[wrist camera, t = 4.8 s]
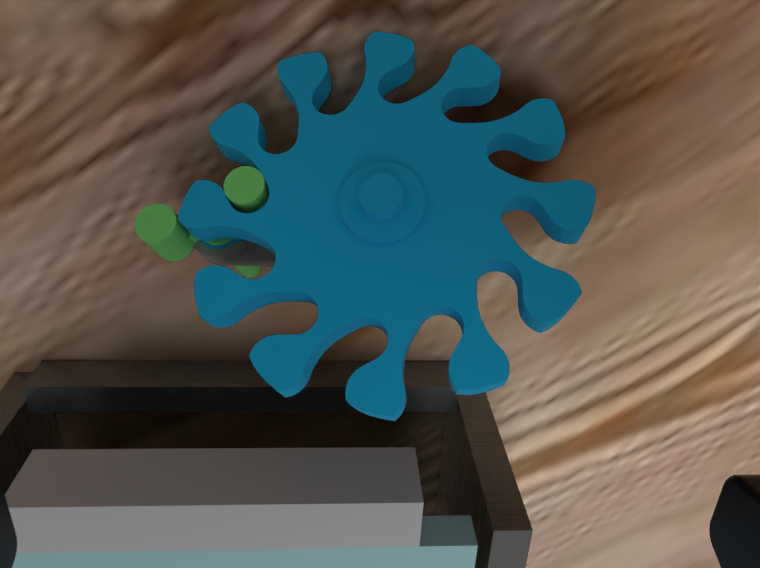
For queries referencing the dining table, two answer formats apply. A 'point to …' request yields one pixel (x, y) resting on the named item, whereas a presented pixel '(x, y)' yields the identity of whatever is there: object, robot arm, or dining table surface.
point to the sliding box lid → (231, 510)
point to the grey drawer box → (253, 394)
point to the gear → (377, 221)
